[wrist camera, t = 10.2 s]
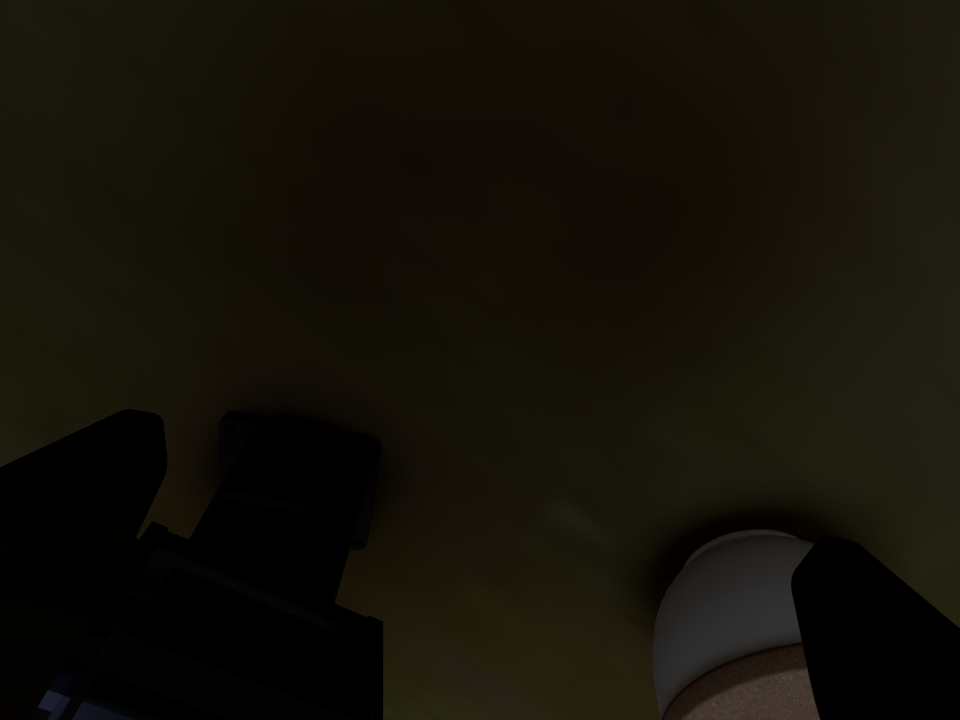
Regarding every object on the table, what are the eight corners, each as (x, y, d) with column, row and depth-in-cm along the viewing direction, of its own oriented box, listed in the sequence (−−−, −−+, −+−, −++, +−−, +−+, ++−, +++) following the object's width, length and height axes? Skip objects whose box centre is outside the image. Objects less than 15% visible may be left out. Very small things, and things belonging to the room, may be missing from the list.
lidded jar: (633, 645, 32) (673, 867, 24) (627, 501, 26) (677, 728, 18) (848, 634, 30) (967, 866, 22) (891, 480, 25) (1070, 716, 17)
